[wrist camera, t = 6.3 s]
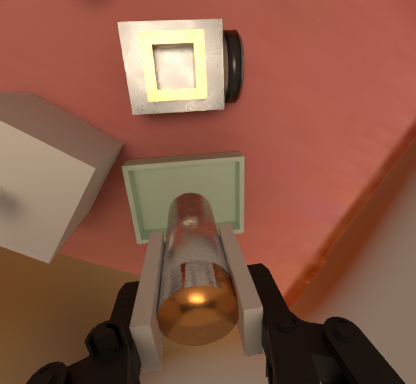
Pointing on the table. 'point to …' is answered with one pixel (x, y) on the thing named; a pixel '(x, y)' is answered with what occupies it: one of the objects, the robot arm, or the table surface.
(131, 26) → the block
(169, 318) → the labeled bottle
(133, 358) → the robot arm
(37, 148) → the grey box
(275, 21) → the table surface
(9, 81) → the table surface
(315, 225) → the table surface
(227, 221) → the tray
